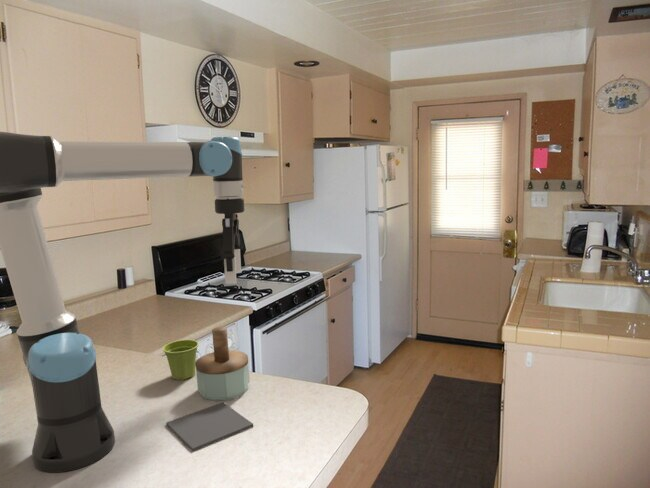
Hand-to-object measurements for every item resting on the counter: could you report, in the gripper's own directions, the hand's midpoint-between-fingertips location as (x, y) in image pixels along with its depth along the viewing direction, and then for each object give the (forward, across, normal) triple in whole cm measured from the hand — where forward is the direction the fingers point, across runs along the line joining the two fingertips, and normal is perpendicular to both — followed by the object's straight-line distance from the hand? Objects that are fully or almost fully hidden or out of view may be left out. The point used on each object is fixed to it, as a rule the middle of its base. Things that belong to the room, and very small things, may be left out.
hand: (233, 277), depth 135 cm
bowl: (+27, -10, +3) cm, 29 cm away
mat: (+27, -28, +4) cm, 39 cm away
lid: (+20, -10, +3) cm, 22 cm away
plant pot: (+27, +1, +15) cm, 31 cm away
